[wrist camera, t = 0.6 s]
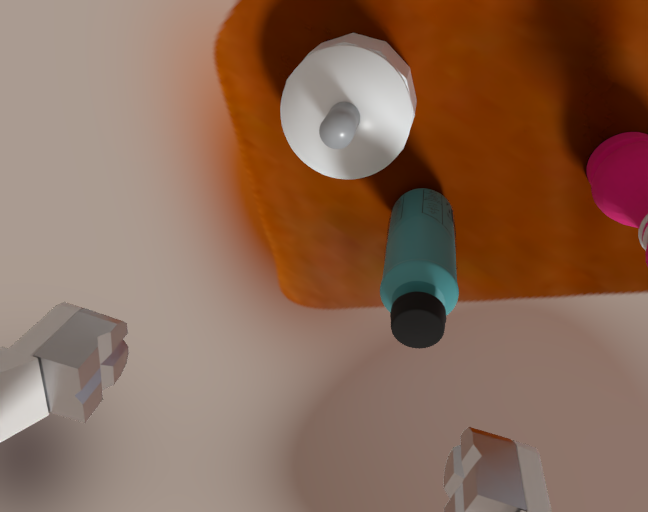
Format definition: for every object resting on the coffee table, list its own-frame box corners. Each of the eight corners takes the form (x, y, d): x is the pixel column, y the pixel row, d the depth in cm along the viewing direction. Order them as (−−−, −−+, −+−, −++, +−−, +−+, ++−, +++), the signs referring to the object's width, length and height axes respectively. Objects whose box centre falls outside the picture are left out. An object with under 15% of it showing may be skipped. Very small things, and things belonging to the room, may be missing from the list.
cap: (308, 20, 43) (278, 36, 35) (431, 54, 42) (430, 78, 34) (287, 139, 49) (258, 176, 41) (394, 170, 49) (385, 213, 41)
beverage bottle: (380, 198, 51) (353, 317, 34) (434, 167, 48) (432, 281, 31) (412, 243, 53) (401, 374, 37) (466, 215, 50) (480, 346, 34)
